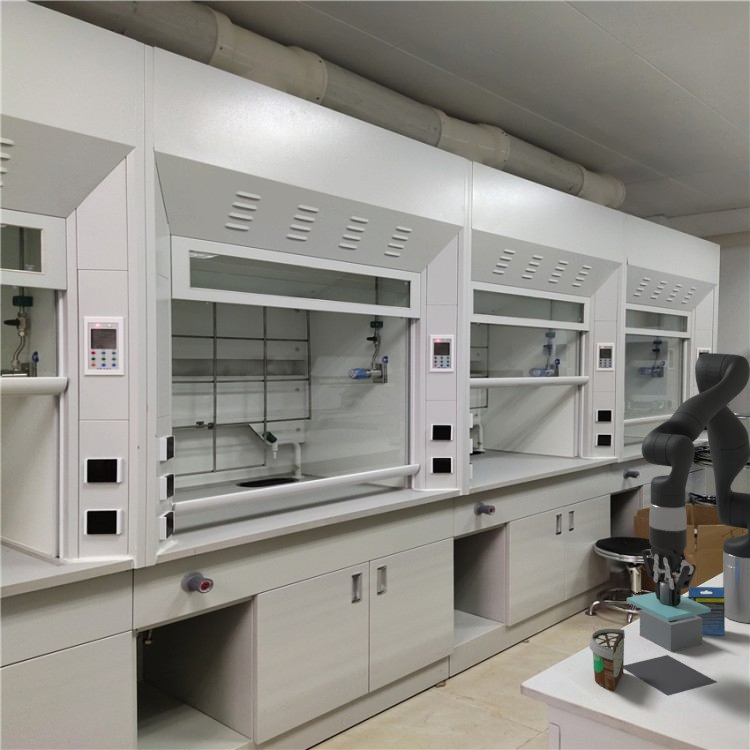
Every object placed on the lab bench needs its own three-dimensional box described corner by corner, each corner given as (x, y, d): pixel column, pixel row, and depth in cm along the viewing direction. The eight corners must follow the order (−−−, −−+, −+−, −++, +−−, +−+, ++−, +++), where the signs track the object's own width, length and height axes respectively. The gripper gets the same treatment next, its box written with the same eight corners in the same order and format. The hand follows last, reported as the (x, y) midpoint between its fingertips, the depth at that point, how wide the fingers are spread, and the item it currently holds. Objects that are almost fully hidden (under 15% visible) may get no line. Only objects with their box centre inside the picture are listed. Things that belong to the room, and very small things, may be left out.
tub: (670, 630, 176) (670, 603, 176) (702, 646, 167) (702, 618, 166) (639, 637, 172) (639, 610, 172) (670, 654, 163) (670, 625, 163)
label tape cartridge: (718, 629, 176) (719, 582, 176) (725, 635, 172) (725, 587, 172) (682, 628, 177) (683, 581, 177) (688, 635, 173) (688, 586, 173)
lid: (667, 593, 159) (667, 570, 159) (710, 611, 148) (710, 587, 148) (626, 601, 155) (626, 578, 154) (667, 621, 144) (667, 596, 143)
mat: (667, 657, 161) (667, 654, 161) (717, 684, 148) (717, 681, 148) (620, 668, 156) (620, 666, 156) (667, 698, 143) (667, 695, 143)
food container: (596, 666, 157) (596, 623, 157) (624, 672, 154) (624, 628, 154) (582, 690, 147) (582, 644, 146) (612, 697, 144) (612, 650, 143)
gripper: (707, 530, 145) (706, 610, 146) (656, 515, 158) (656, 588, 159) (680, 535, 143) (679, 616, 143) (631, 519, 156) (631, 594, 157)
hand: (667, 601), depth 151 cm, fingers closed on lid, 3 cm apart
